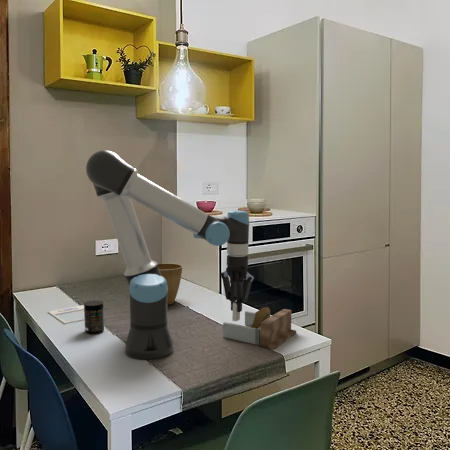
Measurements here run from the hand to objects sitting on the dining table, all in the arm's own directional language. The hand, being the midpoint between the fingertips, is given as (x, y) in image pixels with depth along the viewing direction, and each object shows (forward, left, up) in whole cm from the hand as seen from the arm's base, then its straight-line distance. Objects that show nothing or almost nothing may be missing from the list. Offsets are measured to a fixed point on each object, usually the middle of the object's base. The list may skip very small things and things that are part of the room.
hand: (236, 320), depth 168 cm
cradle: (0, -6, -4) cm, 8 cm away
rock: (+1, -8, -4) cm, 9 cm away
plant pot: (+14, +44, -4) cm, 46 cm away
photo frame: (-18, +63, -5) cm, 66 cm away
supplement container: (-28, +42, -4) cm, 50 cm away
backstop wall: (0, -16, -4) cm, 16 cm away
